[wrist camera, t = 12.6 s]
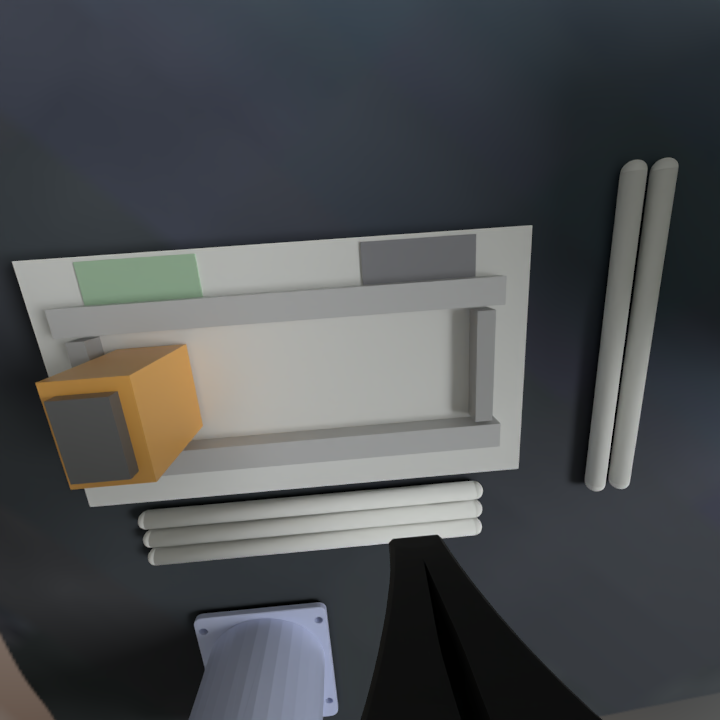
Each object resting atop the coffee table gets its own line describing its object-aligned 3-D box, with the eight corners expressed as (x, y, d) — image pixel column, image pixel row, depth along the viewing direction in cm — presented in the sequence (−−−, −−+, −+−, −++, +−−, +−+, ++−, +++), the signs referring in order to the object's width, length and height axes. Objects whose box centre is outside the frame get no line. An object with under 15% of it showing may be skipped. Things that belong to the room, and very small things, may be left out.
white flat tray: (505, 453, 20) (527, 479, 18) (108, 488, 20) (76, 520, 17) (516, 227, 17) (545, 223, 15) (40, 261, 16) (-11, 261, 14)
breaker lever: (203, 425, 17) (149, 490, 12) (138, 431, 17) (59, 498, 12) (186, 344, 16) (120, 380, 11) (117, 349, 16) (22, 388, 11)
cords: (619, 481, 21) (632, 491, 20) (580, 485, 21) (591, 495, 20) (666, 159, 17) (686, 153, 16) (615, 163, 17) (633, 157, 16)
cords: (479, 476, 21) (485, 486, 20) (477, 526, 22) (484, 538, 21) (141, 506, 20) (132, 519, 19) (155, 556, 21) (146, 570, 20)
